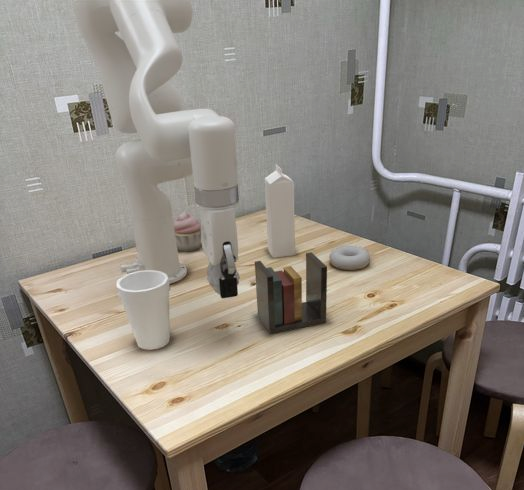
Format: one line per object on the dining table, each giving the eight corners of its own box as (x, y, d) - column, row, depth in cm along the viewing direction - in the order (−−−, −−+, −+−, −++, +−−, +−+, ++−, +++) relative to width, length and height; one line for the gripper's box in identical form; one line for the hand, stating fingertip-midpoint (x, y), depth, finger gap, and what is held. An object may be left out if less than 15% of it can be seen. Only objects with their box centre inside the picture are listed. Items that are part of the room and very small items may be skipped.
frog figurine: (229, 282, 105) (226, 249, 101) (247, 295, 100) (245, 261, 96) (202, 291, 102) (198, 257, 98) (220, 305, 97) (216, 270, 93)
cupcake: (201, 254, 140) (196, 217, 135) (167, 253, 142) (162, 217, 136) (209, 241, 148) (206, 206, 143) (178, 240, 149) (173, 206, 144)
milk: (289, 247, 141) (287, 162, 130) (295, 255, 136) (294, 168, 125) (267, 250, 140) (263, 164, 129) (272, 258, 135) (269, 170, 124)
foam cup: (138, 328, 107) (126, 270, 100) (182, 329, 106) (173, 269, 99) (122, 354, 99) (108, 292, 92) (170, 354, 98) (159, 292, 91)
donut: (327, 272, 127) (369, 272, 125) (327, 258, 125) (370, 259, 123) (331, 256, 135) (370, 256, 133) (331, 243, 133) (371, 243, 131)
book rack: (269, 334, 103) (267, 277, 97) (257, 316, 110) (254, 261, 103) (326, 322, 106) (327, 266, 99) (311, 305, 112) (311, 252, 106)
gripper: (186, 184, 96) (195, 272, 106) (206, 214, 83) (215, 312, 92) (225, 179, 98) (231, 266, 108) (252, 207, 84) (256, 305, 94)
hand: (224, 287), depth 100 cm, fingers closed on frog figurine, 6 cm apart
